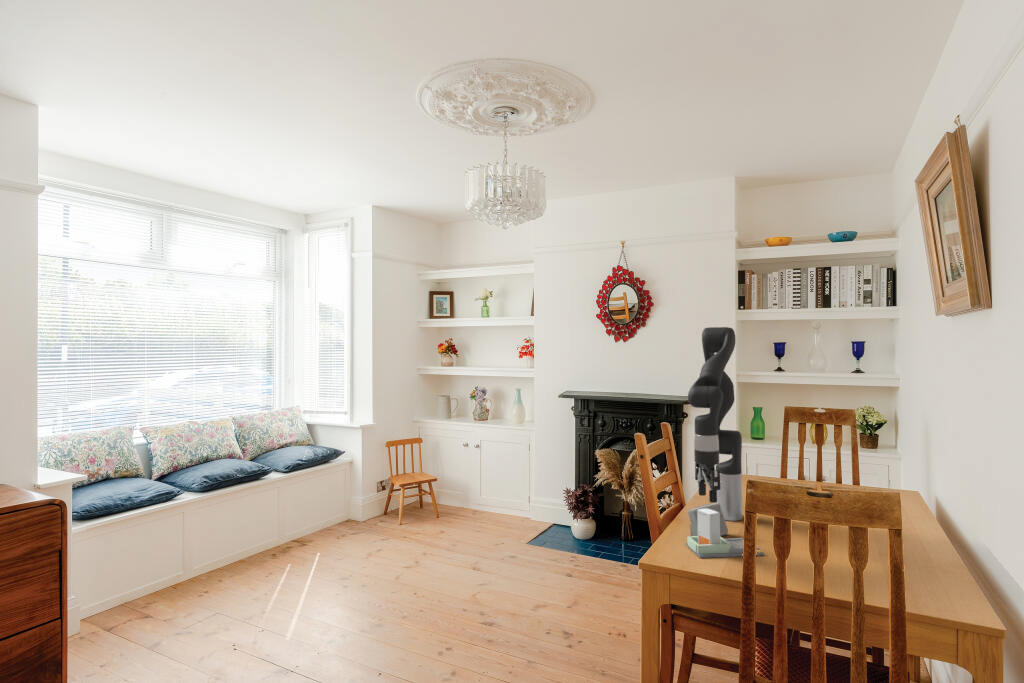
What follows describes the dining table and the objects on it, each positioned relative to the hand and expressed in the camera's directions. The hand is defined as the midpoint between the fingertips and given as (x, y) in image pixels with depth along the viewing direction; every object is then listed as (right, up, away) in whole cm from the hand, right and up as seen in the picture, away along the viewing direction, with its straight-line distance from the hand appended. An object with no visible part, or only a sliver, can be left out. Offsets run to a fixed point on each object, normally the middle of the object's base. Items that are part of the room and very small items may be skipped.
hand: (707, 498), depth 185 cm
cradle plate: (+10, -16, 0) cm, 18 cm away
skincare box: (0, -16, 0) cm, 16 cm away
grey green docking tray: (+5, -17, 0) cm, 17 cm away
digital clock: (+5, -17, +13) cm, 22 cm away
